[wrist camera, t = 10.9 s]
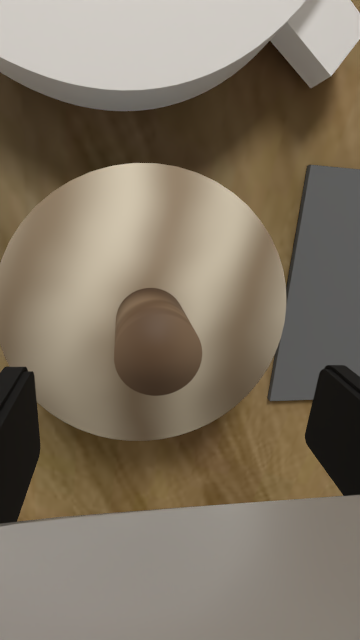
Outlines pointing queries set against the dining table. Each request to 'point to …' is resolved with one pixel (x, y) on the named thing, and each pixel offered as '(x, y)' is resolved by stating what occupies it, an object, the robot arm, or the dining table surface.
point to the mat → (321, 285)
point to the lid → (141, 301)
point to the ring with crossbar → (164, 45)
